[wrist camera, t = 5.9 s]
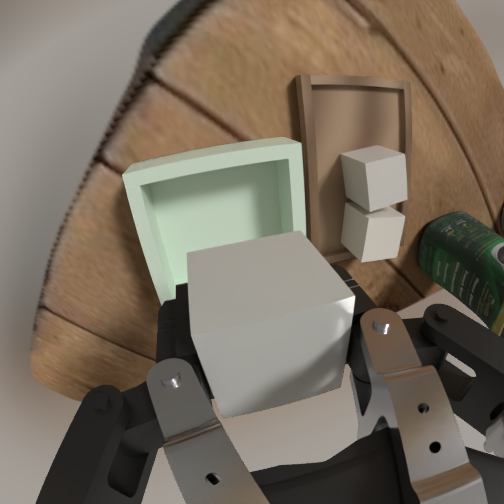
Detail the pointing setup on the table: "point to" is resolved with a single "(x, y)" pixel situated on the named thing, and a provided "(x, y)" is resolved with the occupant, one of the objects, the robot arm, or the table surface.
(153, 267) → the sage bin
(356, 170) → the pale grey cube
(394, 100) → the walnut tray
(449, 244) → the coffee jar
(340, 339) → the off-white cube
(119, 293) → the table surface
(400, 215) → the white cube
